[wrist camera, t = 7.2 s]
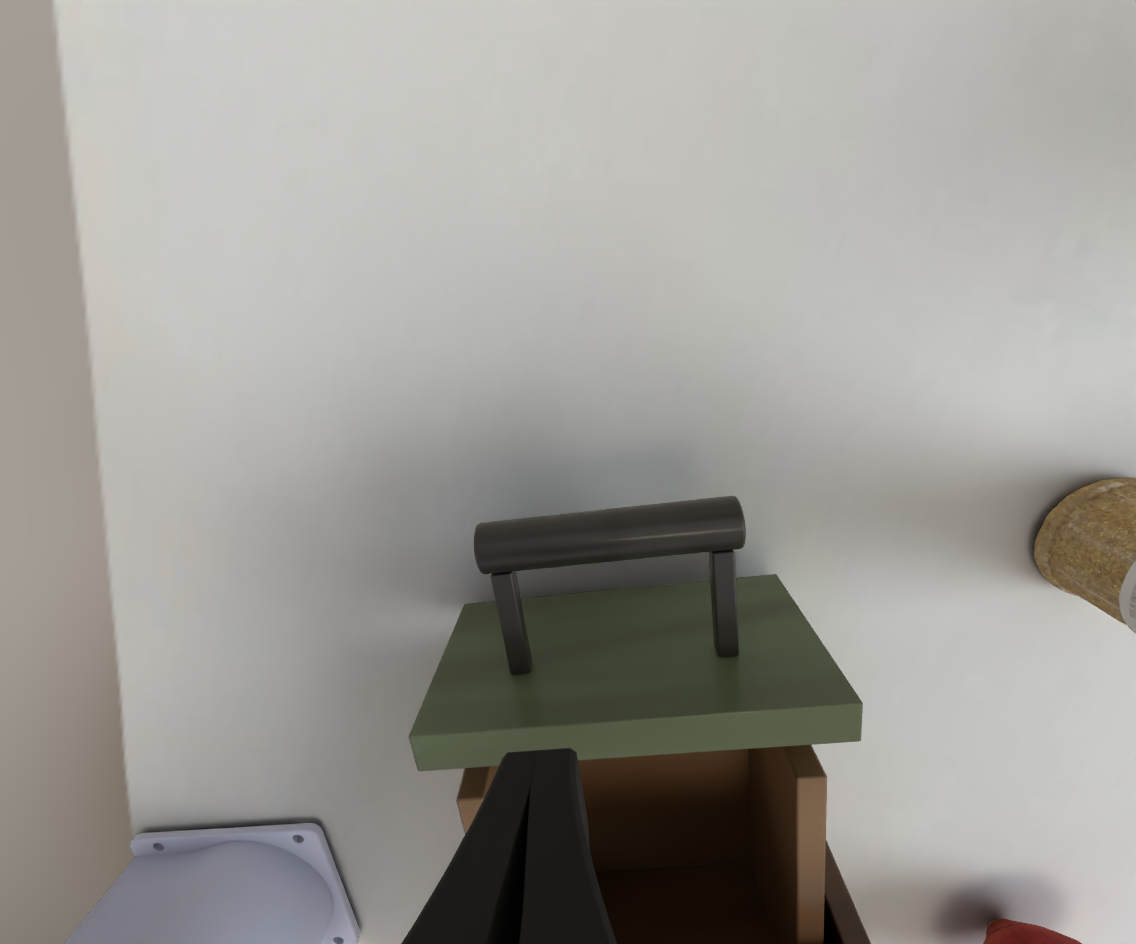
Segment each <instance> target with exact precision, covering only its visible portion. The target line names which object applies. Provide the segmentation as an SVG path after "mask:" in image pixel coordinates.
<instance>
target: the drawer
mask: <svg viewBox="0 0 1136 944" xmlns="http://www.w3.org/2000/svg"><path fill="white" fill-rule="evenodd" d="M745 538H746V529H745V520H744V515H743V511H742V507H741V504H740V502H739V500H738V499H737V497H735V496H726V497H716V498H707V499H698V500H689V501H679V502H670V503H661V504H652V505H642V506H633V507H624V508H614V509H605V510H596V511H587V512H577V513H568V514H559V515H550V516H540V517H531V518H522V519H513V520H503V521H494V522H485V523H480V524H478V525H477V527H476V529H475V535H474V552H475V559H476V563H477V566H478V568H479V570H480V572H481V573H483V574H491V573H492V574H491V581H492V586H493V590H494V595H495V600H496V601H488V602H477V603H467V604H464V606H463V609H462V611H461V613H460V616H459V618H458V620H457V623H456V625H455V628H454V630H453V632H452V635H451V637H450V639H449V642H448V644H447V646H446V649H445V651H444V654H443V656H442V658H441V661H440V663H439V665H438V668H437V670H436V673H435V675H434V677H433V680H432V682H431V684H430V687H429V689H428V691H427V694H426V696H425V699H424V701H423V703H422V706H421V708H420V710H419V713H418V715H417V718H416V720H415V722H414V725H413V727H412V729H411V732H410V734H409V740H410V744H411V747H412V751H413V754H414V758H415V761H416V765H417V768H418V771H430V770H444V769H459V768H465V770H464V774H463V778H462V781H461V785H460V789H459V792H458V796H457V800H456V801H457V805H458V809H459V813H460V816H461V820H462V824H463V828H464V832H465V834H466V833H467V831H468V829H469V827H470V825H471V823H472V821H473V819H474V817H475V815H476V813H477V811H478V809H479V807H480V805H481V803H482V801H483V799H484V797H485V795H486V793H487V791H488V789H489V787H490V785H491V783H492V781H493V778H494V776H495V774H496V772H497V770H498V767H499V765H500V763H501V760H502V758H503V757H504V756H505V755H506V754H507V752H519V751H533V750H547V749H561V748H571V749H572V750H574V751H575V752H577V758H578V764H579V770H580V776H581V782H582V788H583V795H584V801H585V807H586V813H587V819H588V830H589V847H590V854H591V858H592V862H593V867H594V870H595V874H596V878H597V881H598V885H599V888H600V892H601V895H602V898H603V902H604V905H605V908H606V911H607V915H608V918H609V921H610V924H611V927H612V931H613V934H614V937H615V940H616V943H617V944H823V942H824V894H825V847H826V800H827V776H826V774H825V772H824V770H823V768H822V766H821V764H820V762H819V760H818V758H817V756H816V754H815V752H814V750H813V747H812V744H827V743H841V742H856V741H861V728H862V706H863V703H862V701H861V700H860V698H859V697H858V695H857V694H856V692H855V691H854V689H853V688H852V686H851V685H850V683H849V682H848V680H847V679H846V677H845V676H844V675H843V673H842V672H841V670H840V669H839V667H838V666H837V664H836V663H835V661H834V660H833V658H832V657H831V655H830V654H829V652H828V651H827V649H826V648H825V646H824V645H823V643H822V642H821V640H820V639H819V637H818V636H817V634H816V633H815V631H814V630H813V628H812V627H811V625H810V624H809V622H808V621H807V619H806V618H805V616H804V615H803V613H802V612H801V610H800V609H799V608H798V606H797V605H796V603H795V602H794V600H793V599H792V597H791V596H790V594H789V593H788V591H787V590H786V588H785V587H784V585H783V584H782V582H781V581H780V579H779V578H778V576H777V575H776V574H772V575H761V576H751V577H740V578H736V571H735V552H734V550H733V549H741V548H742V547H743V546H744V544H745ZM702 552H709V569H710V580H709V581H698V582H688V583H677V584H667V585H656V586H646V587H635V588H625V589H614V590H603V591H593V592H582V593H572V594H561V595H551V596H540V597H530V598H520V592H519V587H518V582H517V576H516V571H522V570H532V569H542V568H552V567H562V566H572V565H582V564H592V563H602V562H612V561H622V560H632V559H642V558H652V557H662V556H672V555H682V554H692V553H702Z"/></svg>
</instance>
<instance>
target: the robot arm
mask: <svg viewBox="0 0 1136 944" xmlns="http://www.w3.org/2000/svg"><path fill="white" fill-rule="evenodd" d="M129 845H130V849H131V851H132V853H133V855H134V857H135V858H134V859H133V860H132V861H131V863H130V864H129V865H128V866H127V867H126V869H125V870H124V871H123V872H122V874H121V875H120V876H119V877H118V878H117V880H116V881H115V882H114V883H113V884H112V886H111V887H110V888H109V889H108V891H107V892H106V893H105V894H104V895H103V897H102V898H101V899H100V900H99V901H98V903H97V904H96V905H95V906H94V908H93V909H92V910H91V911H90V912H89V914H88V915H87V916H86V917H85V918H84V920H83V921H82V922H81V923H80V925H79V926H78V927H77V928H76V929H75V931H74V932H73V933H72V935H71V936H70V937H69V938H68V939H67V940H66V942H65V943H64V944H357V942H358V940H359V937H360V929H359V927H358V924H357V921H356V919H355V916H354V913H353V911H352V908H351V905H350V903H349V900H348V897H347V895H346V892H345V889H344V887H343V884H342V881H341V879H340V876H339V873H338V871H337V868H336V865H335V863H334V860H333V857H332V855H331V852H330V849H329V847H328V844H327V841H326V839H325V836H324V833H323V831H322V829H321V827H320V826H319V825H317V824H315V823H299V824H283V825H266V826H250V827H233V828H217V829H200V830H184V831H167V832H151V833H140V834H137V835H136V836H135V837H134V838H133V839H132V840H131V842H130V844H129ZM402 944H617V943H616V940H615V937H614V934H613V931H612V927H611V924H610V921H609V918H608V915H607V911H606V908H605V905H604V902H603V898H602V895H601V892H600V888H599V885H598V881H597V878H596V874H595V870H594V867H593V862H592V858H591V854H590V847H589V830H588V819H587V813H586V807H585V801H584V795H583V788H582V782H581V776H580V770H579V764H578V758H577V752H575V751H574V750H572V749H571V748H561V749H547V750H533V751H519V752H507V754H506V755H505V756H504V757H503V758H502V760H501V763H500V765H499V767H498V770H497V772H496V774H495V776H494V778H493V781H492V783H491V785H490V787H489V789H488V791H487V793H486V795H485V797H484V799H483V801H482V803H481V805H480V807H479V809H478V811H477V813H476V815H475V817H474V819H473V821H472V823H471V825H470V827H469V829H468V831H467V833H466V834H465V836H464V838H463V840H462V842H461V844H460V846H459V847H458V849H457V851H456V853H455V855H454V857H453V859H452V860H451V862H450V864H449V866H448V868H447V869H446V871H445V873H444V875H443V876H442V878H441V880H440V881H439V883H438V885H437V886H436V888H435V890H434V891H433V893H432V895H431V896H430V898H429V900H428V901H427V903H426V905H425V906H424V908H423V910H422V911H421V913H420V915H419V916H418V918H417V920H416V921H415V923H414V925H413V926H412V928H411V930H410V931H409V933H408V934H407V936H406V937H405V939H404V940H403V942H402Z"/></svg>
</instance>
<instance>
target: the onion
mask: <svg viewBox="0 0 1136 944" xmlns="http://www.w3.org/2000/svg"><path fill="white" fill-rule="evenodd" d="M983 944H1082V943H1080V942H1079V941H1077V940H1075V939H1072V938H1070V937H1067V936H1065V935H1062V934H1060V933H1057V932H1055V931H1052V930H1049V929H1046V928H1043V927H1040V926H1037V925H1032V924H1026V923H1021V922H1016V921H1010V920H1007V919H996V920H993V921H992V922H991V923H990V924H989V926H988V928H987V931H986V939H985V941H984V943H983Z"/></svg>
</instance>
